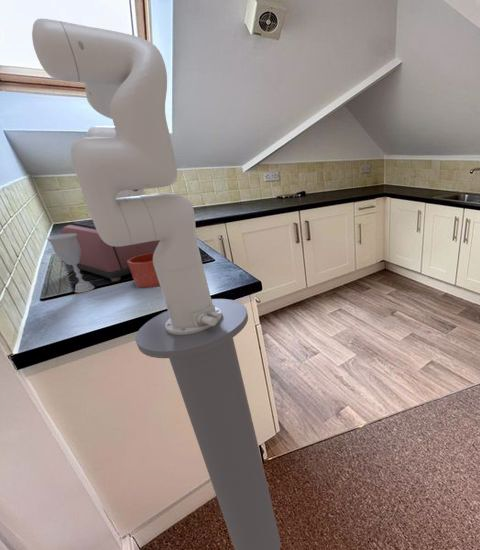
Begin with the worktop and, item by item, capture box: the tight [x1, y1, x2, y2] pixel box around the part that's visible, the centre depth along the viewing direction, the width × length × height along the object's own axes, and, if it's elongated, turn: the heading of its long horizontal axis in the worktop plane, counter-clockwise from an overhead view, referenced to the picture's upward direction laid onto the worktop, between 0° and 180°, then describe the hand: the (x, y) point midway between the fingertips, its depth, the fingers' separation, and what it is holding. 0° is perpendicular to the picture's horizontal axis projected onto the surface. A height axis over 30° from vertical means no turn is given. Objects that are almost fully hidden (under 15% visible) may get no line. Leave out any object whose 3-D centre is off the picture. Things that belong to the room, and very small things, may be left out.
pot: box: [127, 253, 160, 288], centre depth 102 cm, size 12×12×8 cm
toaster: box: [60, 219, 160, 283], centre depth 120 cm, size 31×36×18 cm
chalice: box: [46, 233, 96, 294], centre depth 95 cm, size 7×7×18 cm
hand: (140, 232), depth 97 cm, fingers closed on lid, 2 cm apart
